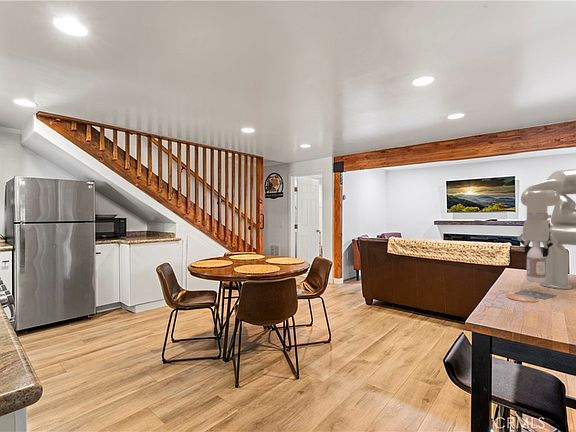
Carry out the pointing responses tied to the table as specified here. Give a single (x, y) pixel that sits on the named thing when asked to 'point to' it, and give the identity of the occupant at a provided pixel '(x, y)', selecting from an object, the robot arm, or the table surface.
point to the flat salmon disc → (522, 298)
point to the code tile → (535, 294)
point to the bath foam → (536, 264)
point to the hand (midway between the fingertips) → (536, 255)
